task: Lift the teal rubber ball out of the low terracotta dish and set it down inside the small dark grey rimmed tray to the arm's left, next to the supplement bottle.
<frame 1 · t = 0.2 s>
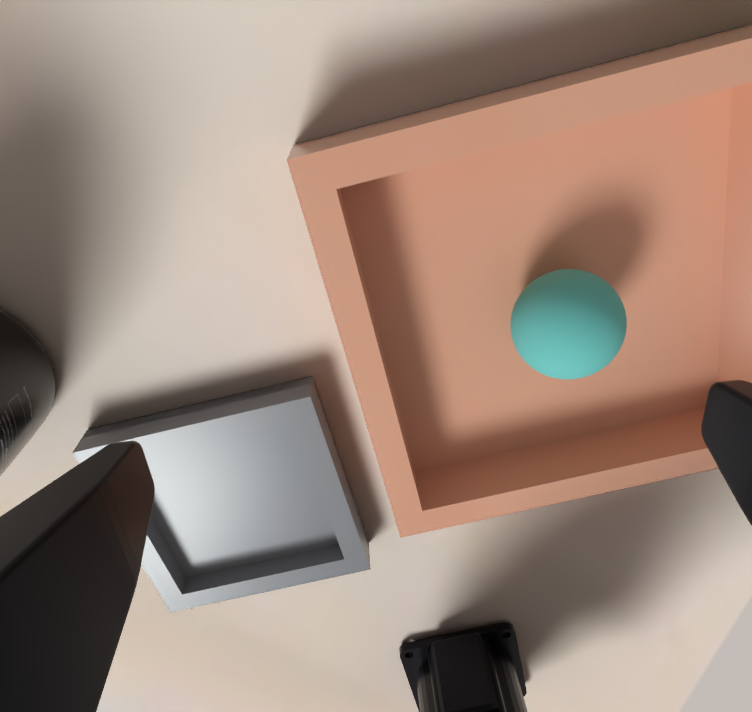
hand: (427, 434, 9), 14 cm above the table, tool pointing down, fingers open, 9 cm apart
tray: (238, 491, 27), on the table
ball: (566, 324, 21), point 2 cm above the table, touching dish
dish: (545, 298, 23), on the table
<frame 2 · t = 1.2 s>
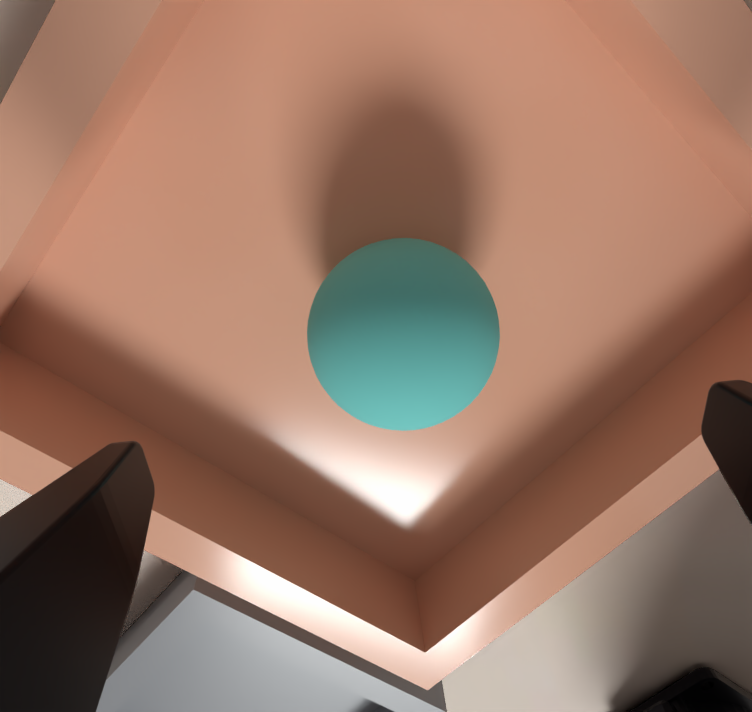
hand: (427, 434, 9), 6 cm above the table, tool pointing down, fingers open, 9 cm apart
tray: (247, 689, 21), on the table
ball: (402, 334, 12), point 2 cm above the table, touching dish
dish: (392, 291, 14), on the table
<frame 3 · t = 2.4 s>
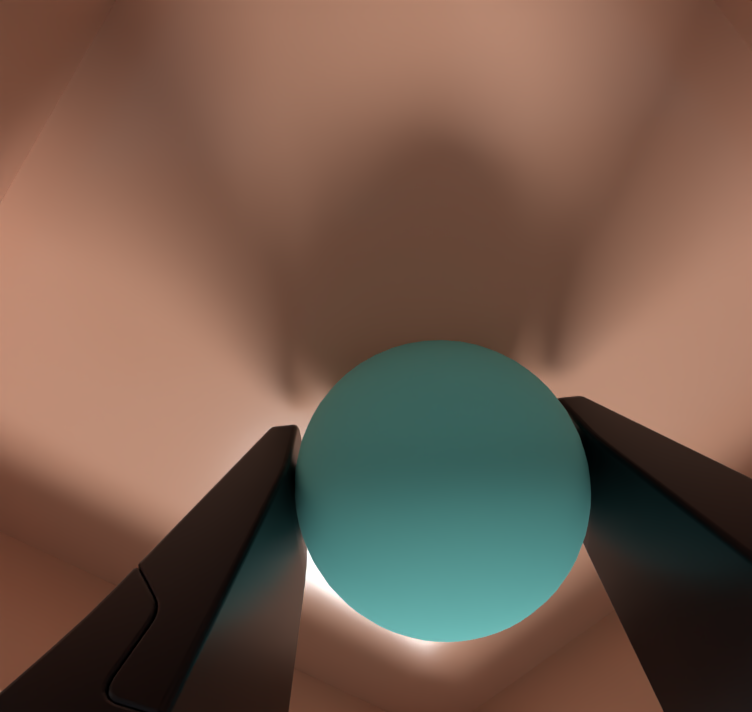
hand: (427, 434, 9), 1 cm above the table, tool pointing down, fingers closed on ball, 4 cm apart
ball: (438, 482, 8), point 2 cm above the table, touching dish, gripper
dish: (417, 391, 10), on the table
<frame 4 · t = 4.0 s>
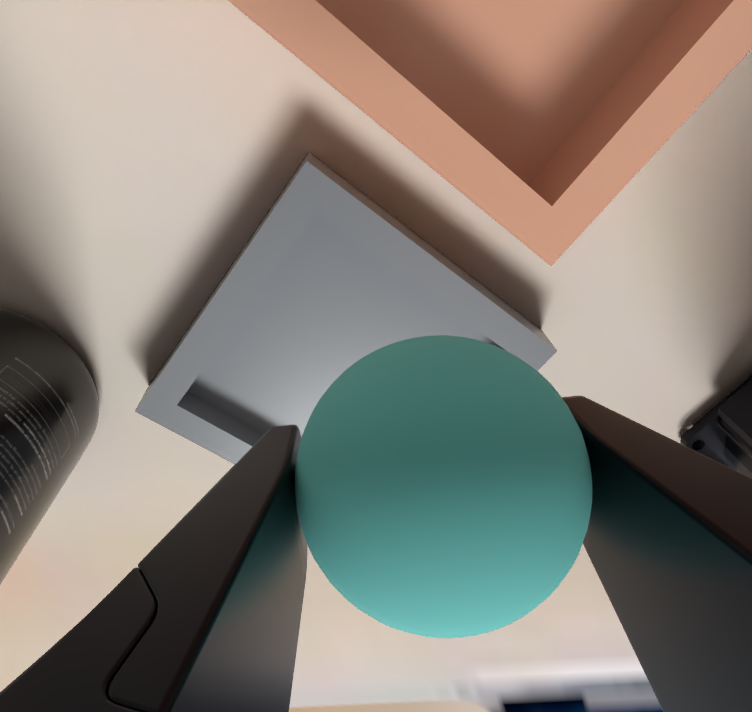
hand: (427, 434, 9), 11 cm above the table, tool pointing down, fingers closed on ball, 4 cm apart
tray: (344, 358, 21), on the table
supplement bottle: (6, 386, 21), on the table
ball: (439, 478, 8), point 12 cm above the table, touching gripper
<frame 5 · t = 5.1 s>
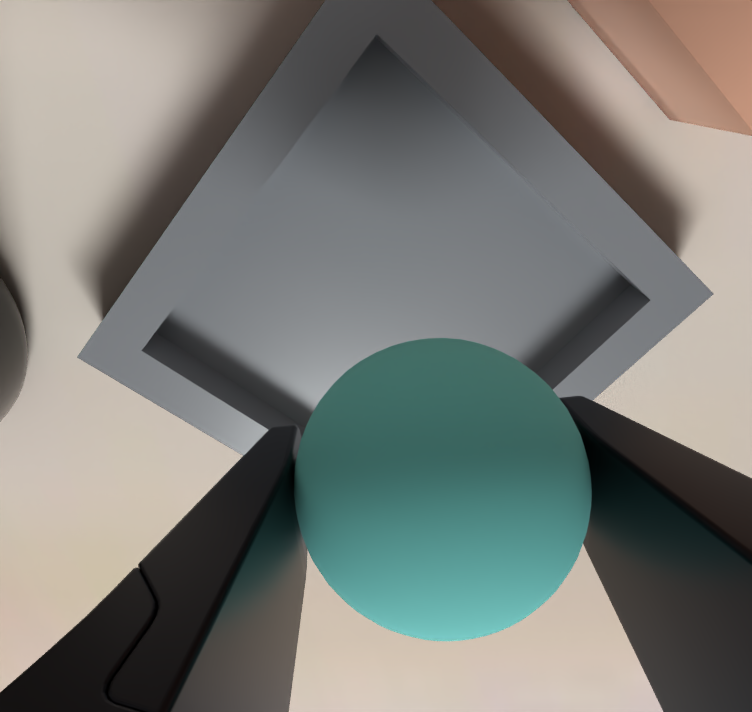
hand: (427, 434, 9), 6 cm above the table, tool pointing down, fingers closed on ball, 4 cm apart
tray: (391, 298, 14), on the table
ball: (438, 481, 8), point 7 cm above the table, touching gripper
when the fingers open (3 cm above the table, at t = 5.9 s): ball drops 1 cm, resting on tray.
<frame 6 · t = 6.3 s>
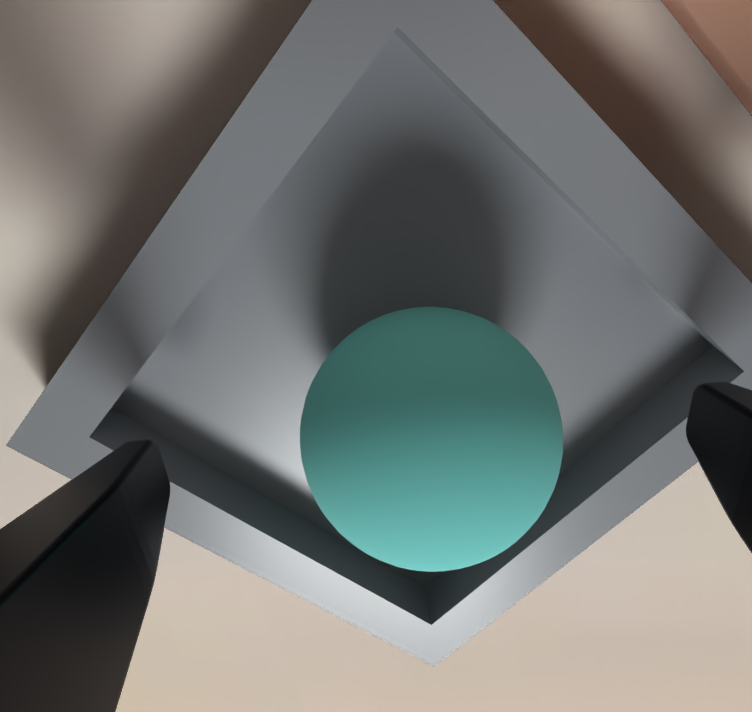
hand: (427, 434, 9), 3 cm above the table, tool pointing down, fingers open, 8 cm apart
tray: (409, 360, 11), on the table
ball: (428, 435, 9), point 3 cm above the table, touching tray
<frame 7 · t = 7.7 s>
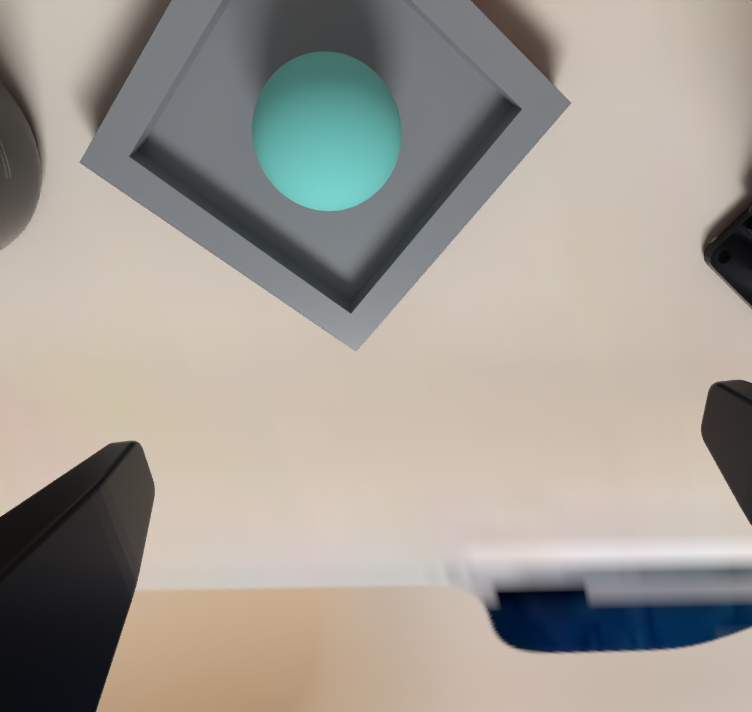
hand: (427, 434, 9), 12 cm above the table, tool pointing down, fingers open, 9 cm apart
tray: (326, 126, 18), on the table
ball: (327, 134, 16), point 3 cm above the table, touching tray
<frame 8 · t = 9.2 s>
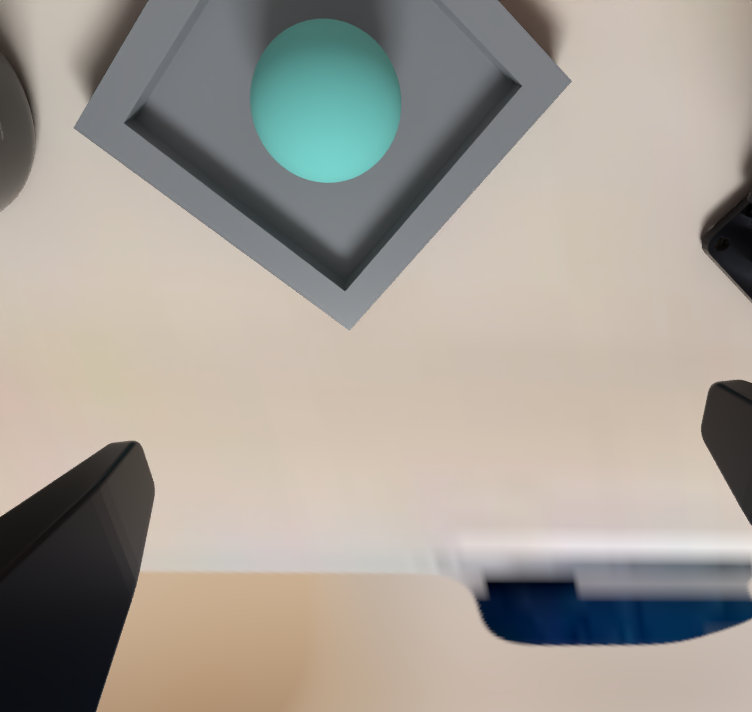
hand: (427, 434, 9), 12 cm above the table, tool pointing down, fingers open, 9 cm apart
tray: (325, 100, 18), on the table
ball: (326, 104, 16), point 3 cm above the table, touching tray
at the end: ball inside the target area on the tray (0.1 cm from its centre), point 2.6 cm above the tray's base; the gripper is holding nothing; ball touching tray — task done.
